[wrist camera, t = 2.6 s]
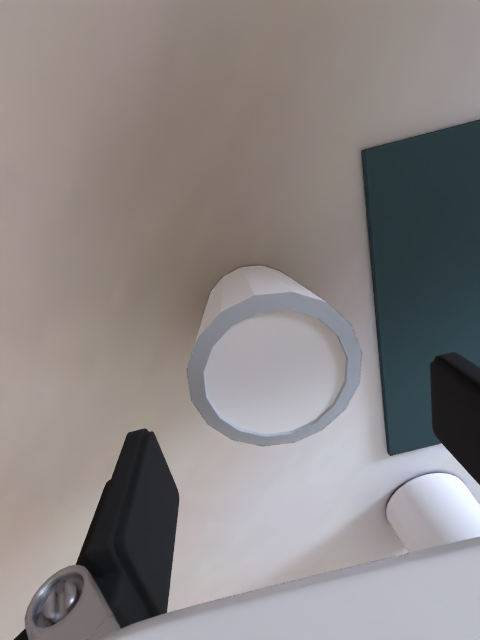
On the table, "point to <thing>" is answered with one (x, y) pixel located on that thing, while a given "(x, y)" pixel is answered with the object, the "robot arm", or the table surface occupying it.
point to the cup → (433, 512)
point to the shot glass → (271, 359)
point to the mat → (423, 268)
